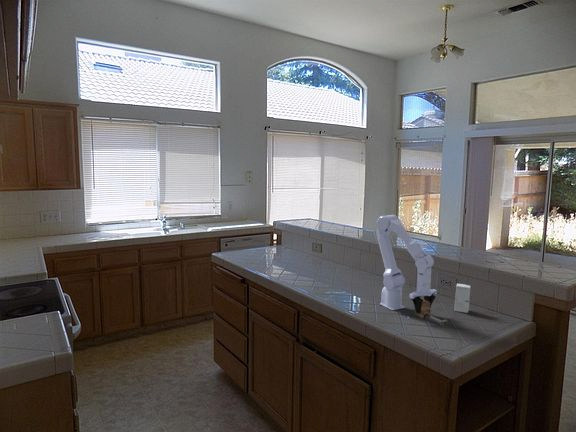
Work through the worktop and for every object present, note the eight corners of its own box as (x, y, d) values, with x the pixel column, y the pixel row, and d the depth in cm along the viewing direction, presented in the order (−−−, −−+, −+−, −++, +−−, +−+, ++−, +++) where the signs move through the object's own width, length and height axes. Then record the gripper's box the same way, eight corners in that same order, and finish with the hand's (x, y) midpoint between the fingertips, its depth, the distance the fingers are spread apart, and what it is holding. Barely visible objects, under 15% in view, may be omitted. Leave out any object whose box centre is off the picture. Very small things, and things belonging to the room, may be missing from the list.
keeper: (415, 314, 174) (415, 301, 173) (423, 312, 176) (424, 299, 175) (421, 317, 170) (422, 304, 170) (430, 315, 173) (430, 302, 172)
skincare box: (454, 311, 179) (455, 285, 178) (455, 307, 183) (456, 283, 181) (468, 313, 176) (470, 287, 175) (469, 310, 180) (470, 285, 178)
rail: (414, 313, 176) (414, 305, 175) (419, 312, 177) (419, 304, 177) (442, 326, 162) (442, 317, 161) (447, 325, 163) (447, 316, 163)
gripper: (418, 286, 165) (417, 317, 167) (442, 282, 171) (441, 311, 173) (406, 282, 171) (405, 311, 173) (430, 278, 177) (429, 306, 179)
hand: (422, 311), depth 173 cm, fingers closed on keeper, 5 cm apart
